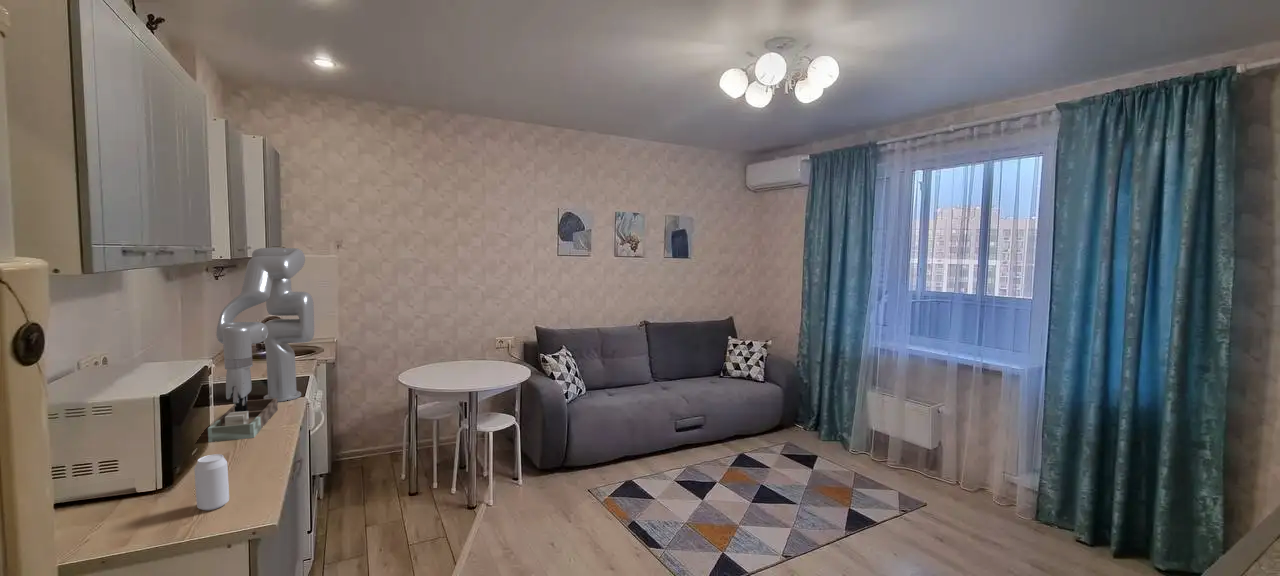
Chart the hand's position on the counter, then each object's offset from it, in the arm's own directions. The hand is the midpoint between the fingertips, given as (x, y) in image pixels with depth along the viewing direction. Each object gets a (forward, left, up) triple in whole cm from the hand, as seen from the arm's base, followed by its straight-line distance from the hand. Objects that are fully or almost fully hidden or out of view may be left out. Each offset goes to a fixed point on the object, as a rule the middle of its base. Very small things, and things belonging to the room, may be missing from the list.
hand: (241, 416), depth 183 cm
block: (+5, 0, -2) cm, 5 cm away
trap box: (-4, 0, -4) cm, 6 cm away
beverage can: (+60, +10, -4) cm, 61 cm away
